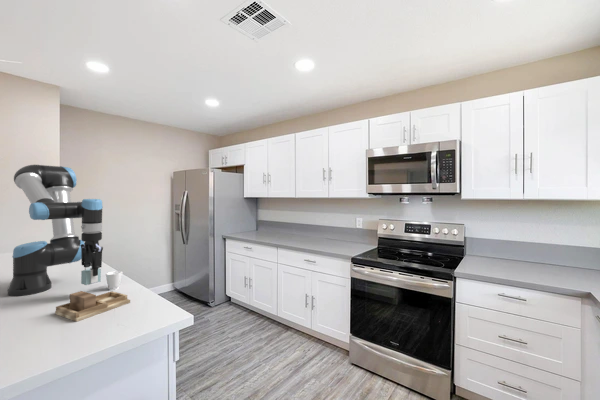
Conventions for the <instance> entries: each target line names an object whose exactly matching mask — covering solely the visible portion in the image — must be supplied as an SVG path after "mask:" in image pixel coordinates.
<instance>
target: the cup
mask: <svg viewBox="0 0 600 400" xmlns="http://www.w3.org/2000/svg"><path fill="white" fill-rule="evenodd" d="M122 277H123V271H122V270H114V271H108V272H107V273H105V278H106V284H107V287H108V290H109V291H116V290H118V289H120V285H121V281H122Z"/></svg>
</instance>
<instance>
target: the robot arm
mask: <svg viewBox="0 0 600 400" xmlns="http://www.w3.org/2000/svg"><path fill="white" fill-rule="evenodd" d="M13 181H14V184H15V185H16V186H17V188H19V189H20V190H22V192H23V193H24V195H25V196H26V198H27V199H28V201H29V202H30V205H29V208H28V213H29V217H30V219H32V220H34V221H37V220H38V221H40V220H41V221H45V220H51V224H52V234H53V236H52V237H51V239H50V240H49V243H48V242H47V241H46V240H40V241H32V242H28V243H22V244H19V245H17V246H15V247H14V248H13V250H12V257H11V258H12V279H11V281H10V284H9V286H8V288H7V296H11V297H19V296H28V295H29V296H30V295H34V294H38V293H42V292H45V291H48V290H50V289H51V288H52V286H53V285H52V281H51V279H50V276H49V275H48V267H52V266H59V265H65V264H72V263H76V262H80V261H81V265H82V266H83V268H84V270H88V269H90V270H91V277H90V283H93V284H96V283H95V282H97V283H99V282H98V268H99V269H101V268H102V262H103V251H104V250H103V249H104V247H103V246H100V241H101V240H102V239H103V233H102V231H103V200H102V199H100V198H99V199H98V198H84V199H82V200H81V201H77V202H76V201H75V202H74V201H73V202H72V199H71V192H72V191H73V190H74V188H76V187H77V182H78V181H77V175H76V172H75V171H74V170H73V169H72V168H70V167H66V166H61V165H60V166H59V165H58V166H56V165H44V164H30V165H26V166H23V167H21V168H19V169H18V170H16V172H15V173H14V175H13ZM74 219H81V226H80V228H81V232H82V233H81V236H80V237H81V239H80V237H79V236H78V235H77V234H75V225H74Z"/></svg>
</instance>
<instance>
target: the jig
mask: <svg viewBox="0 0 600 400" xmlns="http://www.w3.org/2000/svg"><path fill="white" fill-rule="evenodd" d="M130 303H131V299H128V294H125V293H121V292H116V291H114V290H110V291H108V292H105V293H102V294H98V295H96V306H94V307H91V308H88V309H85V310H82V311H79V312H77V311H74V310H71V309H70V302H68V303H64V304H61V305H57V306H55V311H54V313H55V315H57V316H59V317H63V318H66V319H68V320H71V321H73V322H76V323H77V322H80V321H84V320H86V319H88V318H91V317H94V316H97V315H100V314H103V313H105V312H108V311H111V310H114V309H116V308H120V307H122V306H124V305H127V304H130Z"/></svg>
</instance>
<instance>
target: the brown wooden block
mask: <svg viewBox="0 0 600 400" xmlns="http://www.w3.org/2000/svg"><path fill="white" fill-rule="evenodd" d="M96 296H97V294H94V293H90V292H86V291H82V290H80V291H77V292H72V293H70V294H69V303H70V309H71V310H74V311H77V312H79V311H82V310H85V309H88V308H91V307H94V306H96Z"/></svg>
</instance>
